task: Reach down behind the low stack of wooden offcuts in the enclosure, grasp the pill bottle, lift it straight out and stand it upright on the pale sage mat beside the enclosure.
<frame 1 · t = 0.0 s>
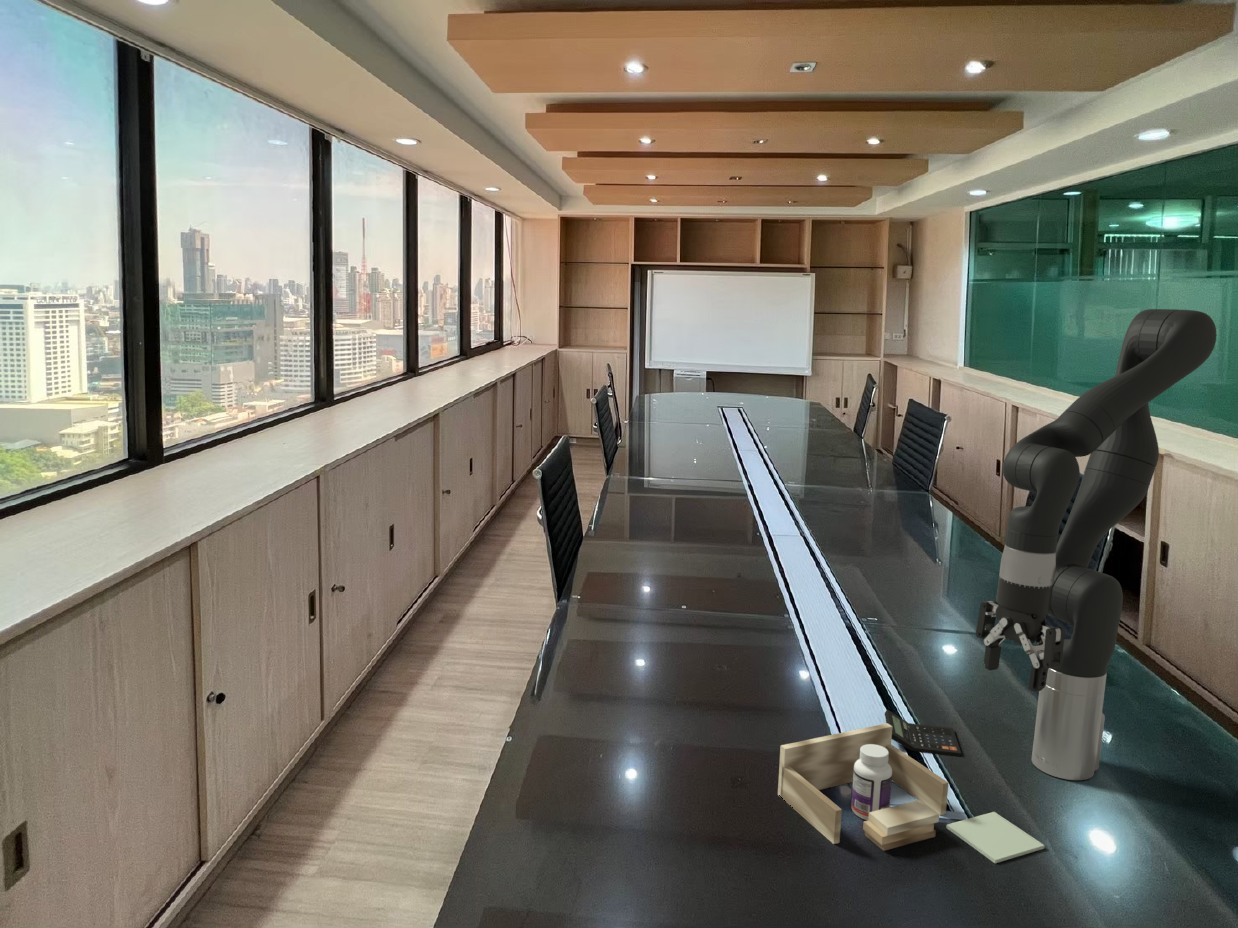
hand: (1012, 679, 141), 17 cm above the table, tool pointing down, fingers open, 8 cm apart
calculator: (920, 742, 158), on the table
enclosure: (869, 811, 135), on the table
pill bottle: (869, 813, 135), on the table
offcut stack: (899, 837, 129), on the table
sage mat: (994, 837, 129), on the table
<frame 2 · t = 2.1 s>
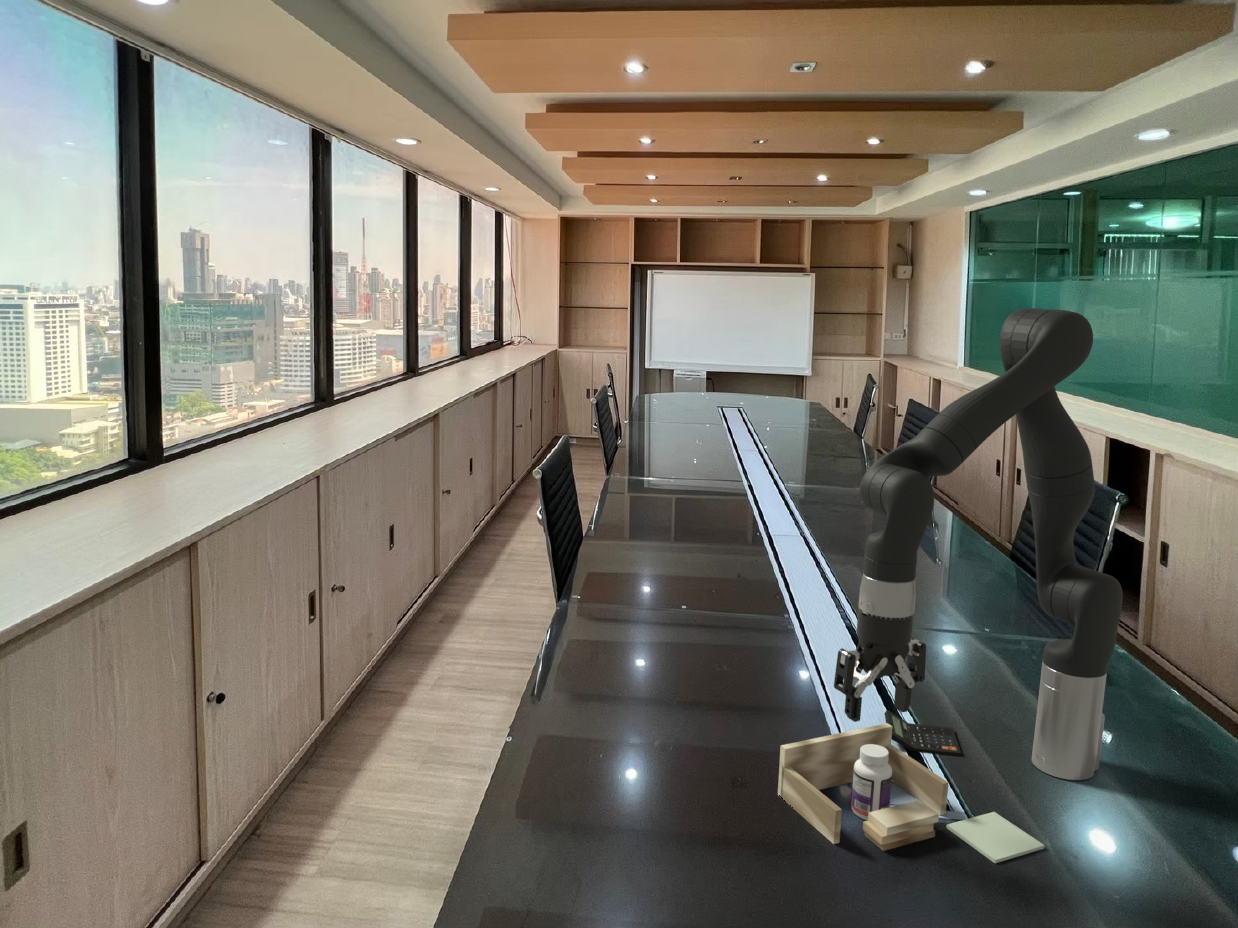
hand: (877, 714, 132), 15 cm above the table, tool pointing down, fingers open, 8 cm apart
nothing on the table moved.
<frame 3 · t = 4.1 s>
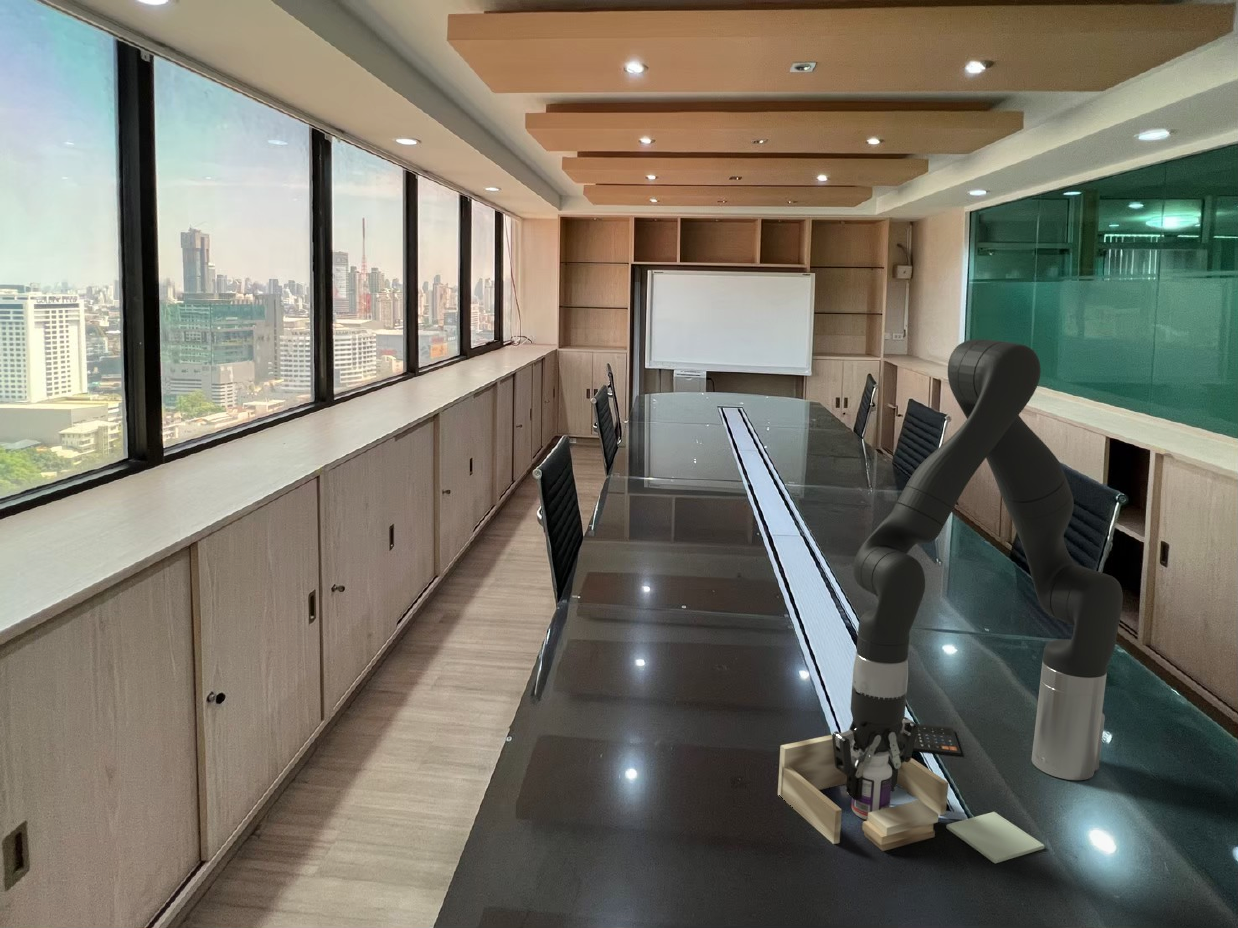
hand: (871, 792, 135), 3 cm above the table, tool pointing down, fingers closed on pill bottle, 5 cm apart
pill bottle: (869, 812, 135), on the table, touching gripper
everything else where it was.
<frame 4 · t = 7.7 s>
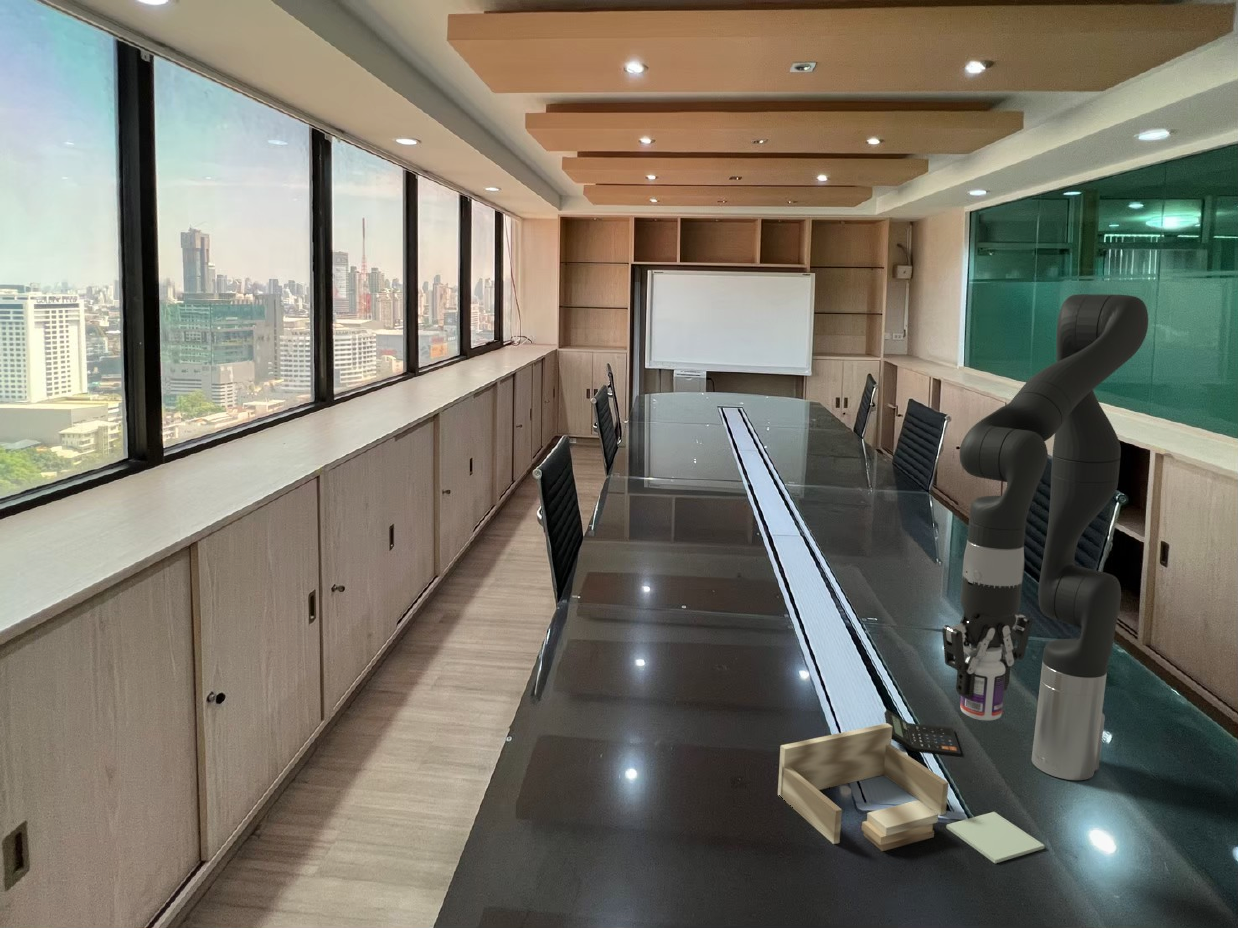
hand: (981, 692, 127), 21 cm above the table, tool pointing down, fingers closed on pill bottle, 5 cm apart
pill bottle: (980, 713, 128), point 18 cm above the table, touching gripper
everything else where it was.
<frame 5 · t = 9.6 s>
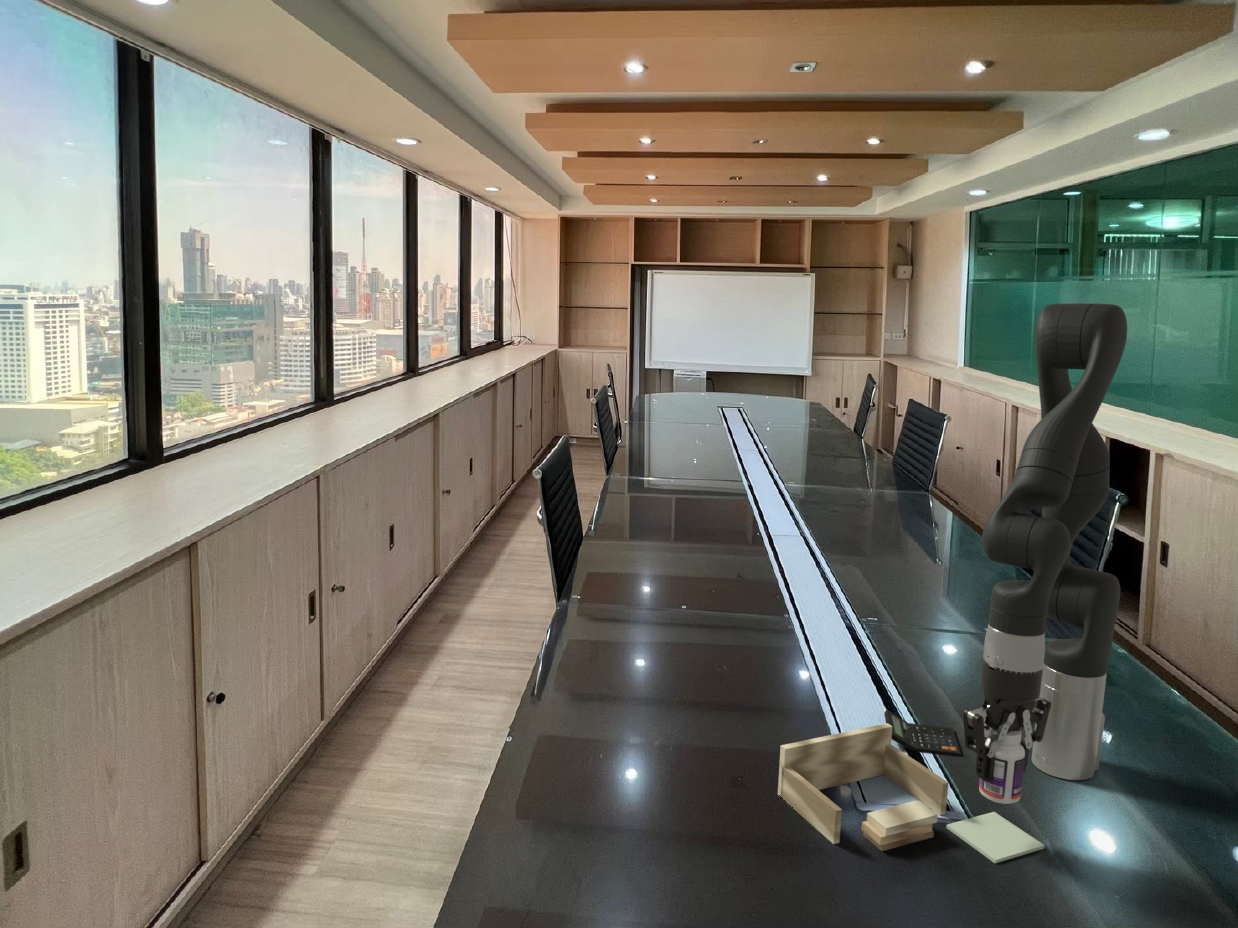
hand: (1000, 774, 127), 10 cm above the table, tool pointing down, fingers closed on pill bottle, 5 cm apart
pill bottle: (999, 795, 128), point 6 cm above the table, touching gripper
everything else where it was.
when the fingers open (5 cm above the table, at t = 11.4 s): pill bottle drops 1 cm, resting on sage mat.
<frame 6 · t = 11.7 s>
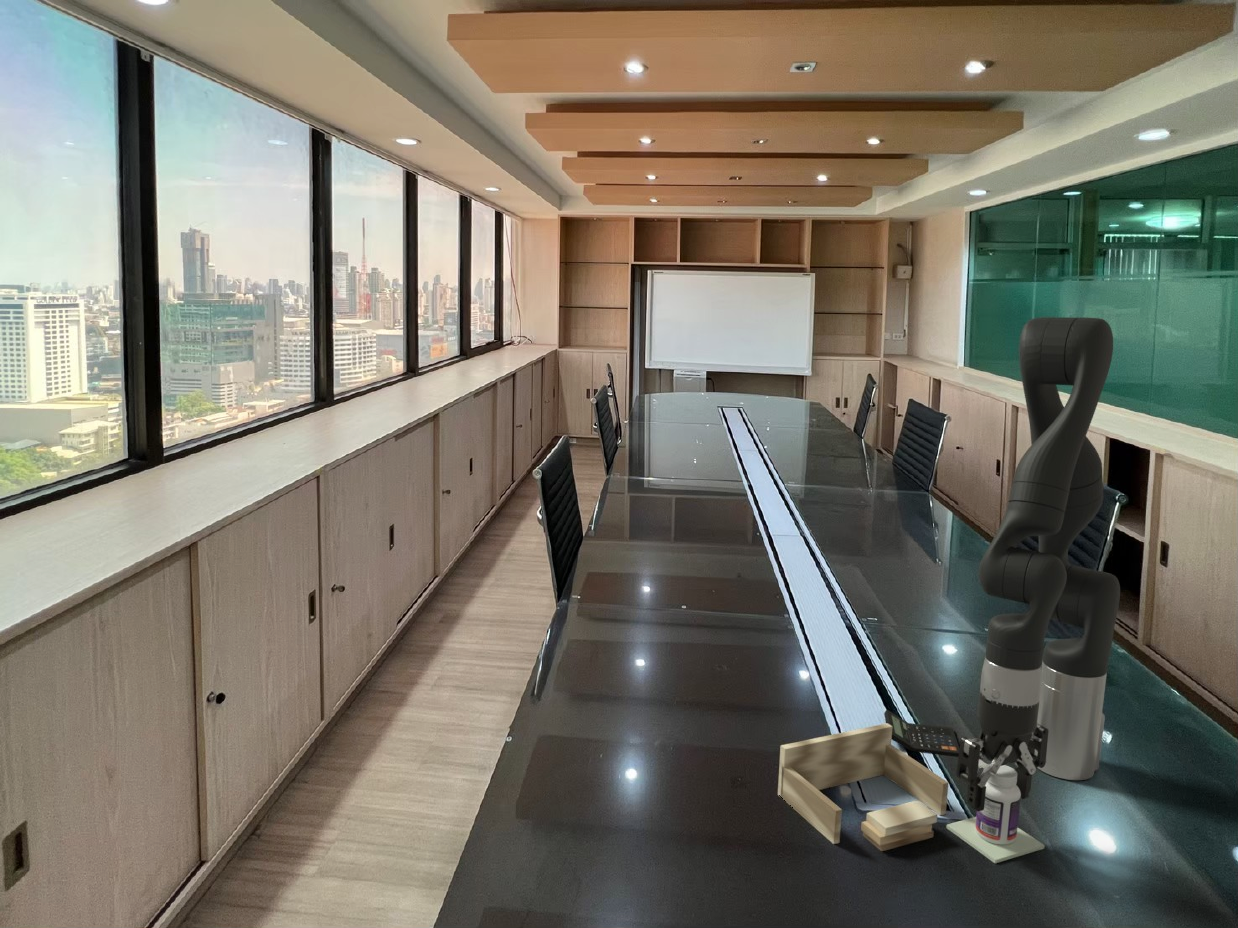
hand: (998, 801, 128), 6 cm above the table, tool pointing down, fingers open, 8 cm apart
pill bottle: (995, 835, 129), resting on sage mat
everything else where it was.
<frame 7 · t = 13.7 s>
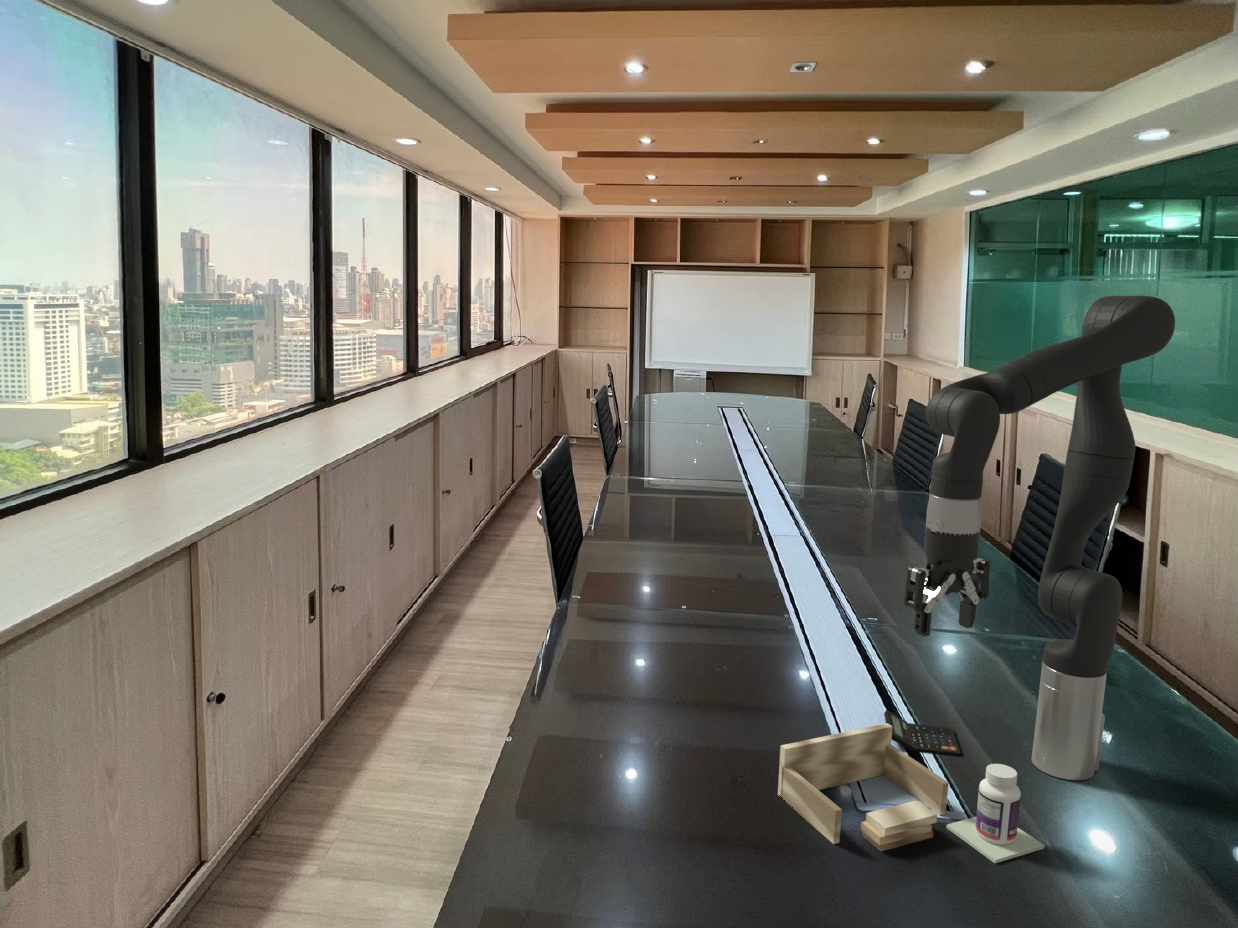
hand: (944, 630, 138), 25 cm above the table, tool pointing down, fingers open, 8 cm apart
nothing on the table moved.
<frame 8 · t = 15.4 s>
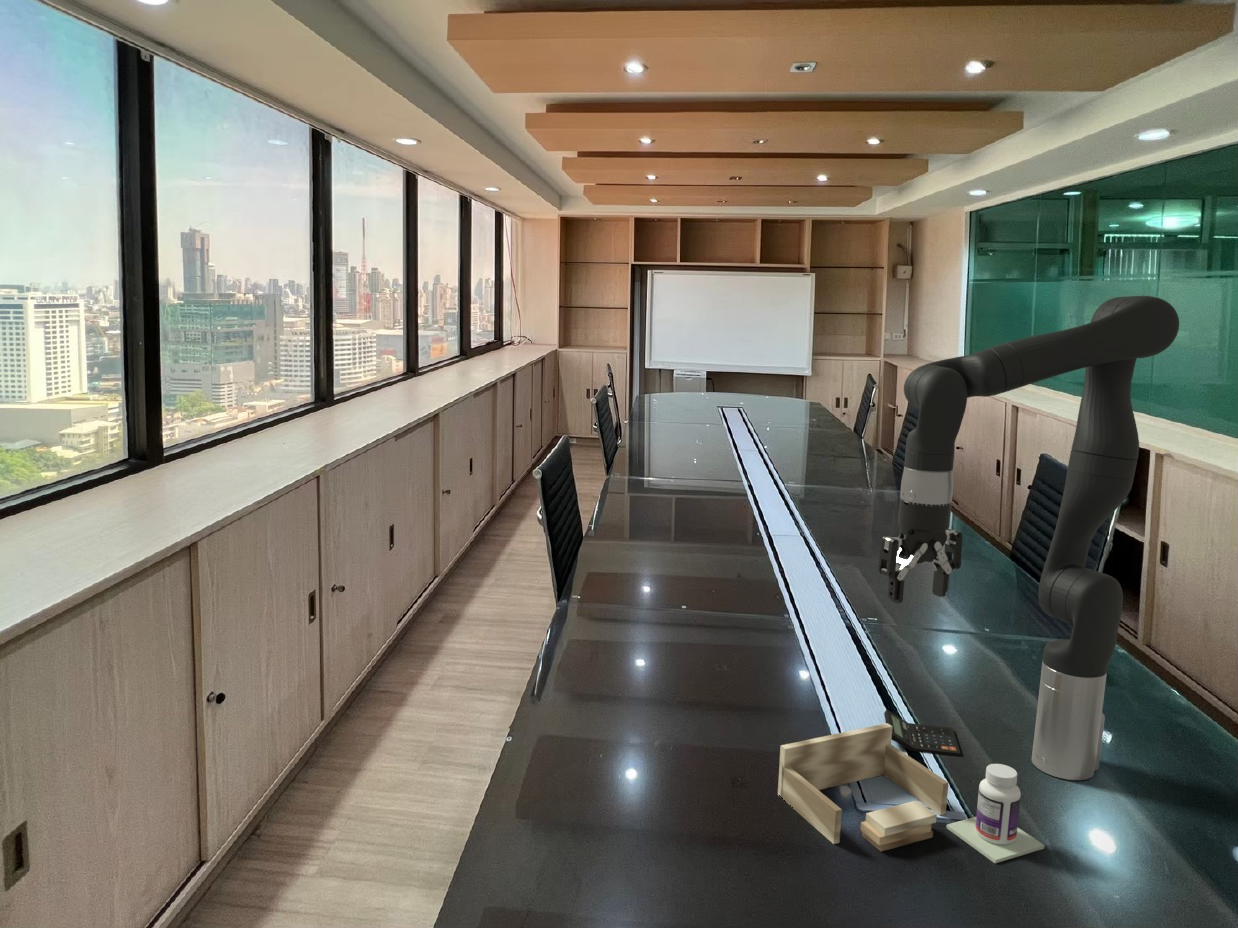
hand: (917, 598, 144), 28 cm above the table, tool pointing down, fingers open, 8 cm apart
nothing on the table moved.
at the end: pill bottle 0.1 cm off-centre on the sage mat, point 0.3 cm above the sage mat's base; pill bottle tilted 0°; offcut stack moved 0.5 cm from its start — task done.
